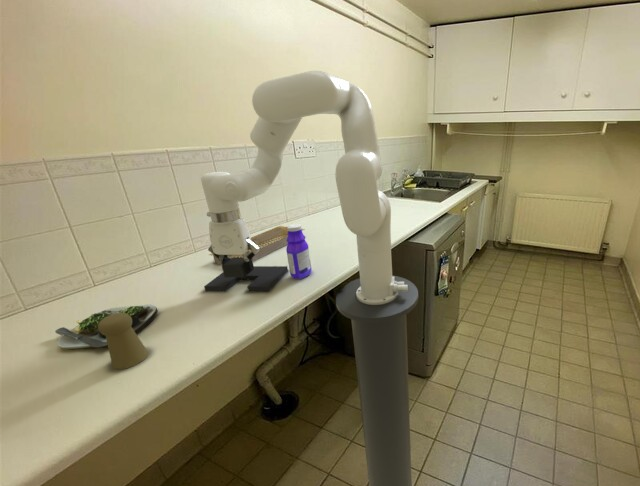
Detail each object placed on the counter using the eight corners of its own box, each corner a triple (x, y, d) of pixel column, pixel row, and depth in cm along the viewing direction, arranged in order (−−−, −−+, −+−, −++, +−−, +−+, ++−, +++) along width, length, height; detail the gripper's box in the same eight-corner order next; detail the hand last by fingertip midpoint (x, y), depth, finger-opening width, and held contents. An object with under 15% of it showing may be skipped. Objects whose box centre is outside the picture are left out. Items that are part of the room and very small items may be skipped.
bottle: (301, 269, 108) (293, 221, 102) (315, 271, 106) (308, 223, 100) (287, 278, 102) (278, 228, 95) (302, 281, 100) (293, 230, 94)
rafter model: (239, 269, 109) (235, 253, 107) (211, 263, 114) (206, 248, 112) (305, 236, 139) (303, 223, 137) (281, 233, 144) (278, 220, 142)
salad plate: (24, 359, 69) (14, 342, 67) (93, 313, 85) (86, 298, 84) (118, 352, 70) (111, 335, 69) (167, 308, 87) (162, 293, 85)
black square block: (254, 268, 99) (251, 257, 97) (243, 277, 93) (240, 265, 92) (235, 268, 99) (233, 257, 98) (224, 277, 94) (221, 265, 92)
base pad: (288, 270, 107) (287, 266, 107) (268, 291, 94) (267, 286, 94) (232, 270, 108) (231, 266, 108) (205, 291, 95) (204, 286, 95)
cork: (151, 346, 72) (134, 305, 68) (145, 363, 67) (127, 320, 63) (117, 355, 69) (98, 313, 65) (108, 373, 64) (87, 329, 60)
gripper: (188, 219, 87) (204, 277, 93) (248, 219, 86) (260, 277, 92) (205, 212, 94) (220, 266, 100) (261, 212, 93) (272, 266, 99)
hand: (239, 271), depth 96 cm, fingers closed on black square block, 6 cm apart
